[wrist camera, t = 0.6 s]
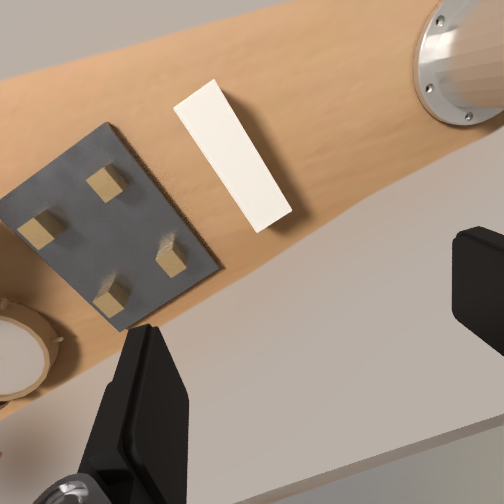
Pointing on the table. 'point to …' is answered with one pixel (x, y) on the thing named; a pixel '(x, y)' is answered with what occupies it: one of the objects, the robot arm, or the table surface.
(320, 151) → the table surface
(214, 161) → the white rectangular block
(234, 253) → the table surface
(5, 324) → the alarm clock
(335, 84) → the table surface
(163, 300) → the cradle jig
